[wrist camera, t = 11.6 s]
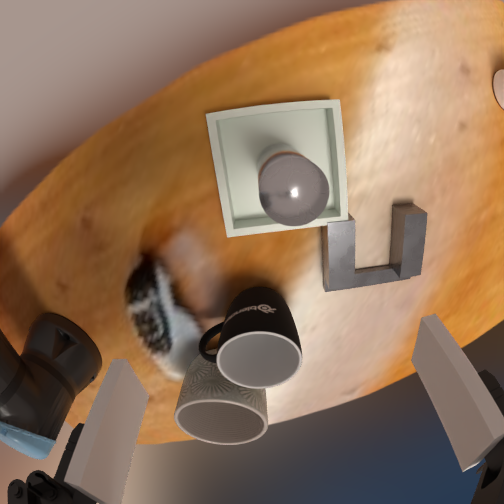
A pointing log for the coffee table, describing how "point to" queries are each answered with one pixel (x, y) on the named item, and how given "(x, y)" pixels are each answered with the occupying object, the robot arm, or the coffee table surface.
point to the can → (499, 87)
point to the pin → (290, 186)
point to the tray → (263, 135)
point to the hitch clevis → (400, 267)
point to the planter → (219, 406)
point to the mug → (256, 341)
